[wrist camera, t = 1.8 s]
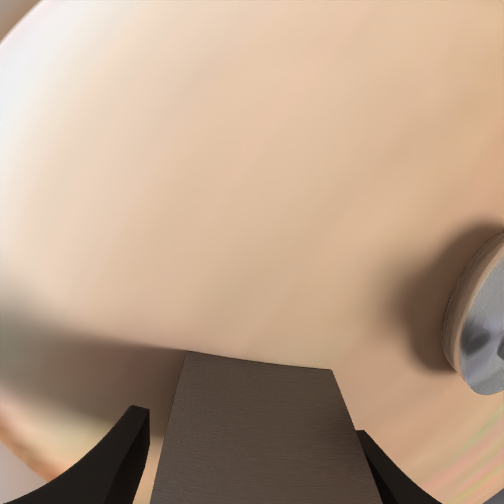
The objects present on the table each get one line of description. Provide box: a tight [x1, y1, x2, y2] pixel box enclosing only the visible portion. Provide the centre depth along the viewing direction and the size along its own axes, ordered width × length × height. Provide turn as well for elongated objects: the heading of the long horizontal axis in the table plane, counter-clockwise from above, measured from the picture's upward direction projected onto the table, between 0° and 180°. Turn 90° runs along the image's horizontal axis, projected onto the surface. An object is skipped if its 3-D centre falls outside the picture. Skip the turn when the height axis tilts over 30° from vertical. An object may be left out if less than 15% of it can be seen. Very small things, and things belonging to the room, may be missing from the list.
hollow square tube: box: [150, 351, 383, 504], centre depth 8 cm, size 5×5×6 cm
